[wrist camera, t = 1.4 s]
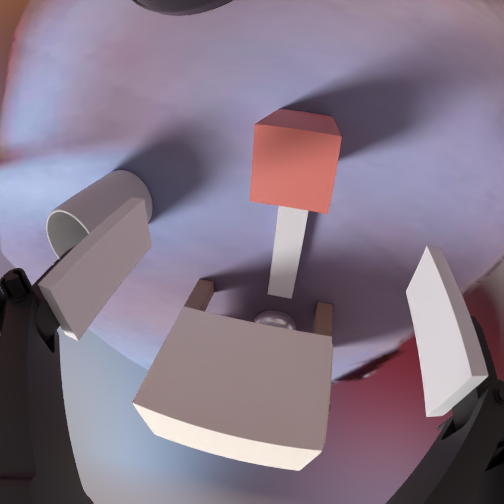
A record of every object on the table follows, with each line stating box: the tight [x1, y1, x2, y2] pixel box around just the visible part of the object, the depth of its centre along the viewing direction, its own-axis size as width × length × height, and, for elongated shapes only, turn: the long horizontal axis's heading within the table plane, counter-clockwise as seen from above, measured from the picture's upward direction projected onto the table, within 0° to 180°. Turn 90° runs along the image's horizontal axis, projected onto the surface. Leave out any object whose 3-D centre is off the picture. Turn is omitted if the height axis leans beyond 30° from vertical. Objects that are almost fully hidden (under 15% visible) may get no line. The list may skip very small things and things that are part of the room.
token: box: [254, 310, 296, 330], centre depth 39 cm, size 6×6×2 cm
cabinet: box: [132, 279, 333, 470], centre depth 32 cm, size 10×19×20 cm, turn 87°
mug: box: [46, 170, 153, 259], centre depth 30 cm, size 12×8×11 cm
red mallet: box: [250, 109, 342, 299], centre depth 25 cm, size 22×5×11 cm, turn 177°
